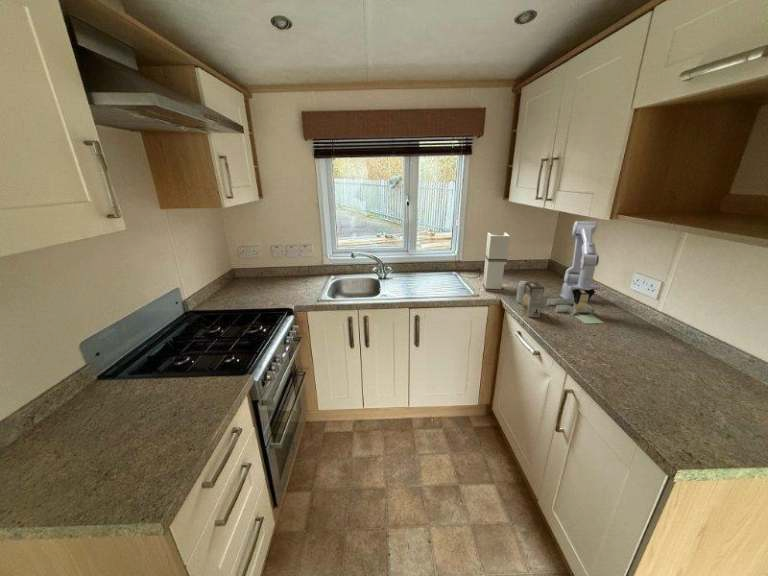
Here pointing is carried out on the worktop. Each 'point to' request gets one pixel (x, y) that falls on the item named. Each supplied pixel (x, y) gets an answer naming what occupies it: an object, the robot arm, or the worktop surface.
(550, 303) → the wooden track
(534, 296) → the coffee box
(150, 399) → the worktop surface
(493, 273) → the tall white stacked column
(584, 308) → the birch block
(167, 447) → the worktop surface
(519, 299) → the beverage can
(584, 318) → the end pad
